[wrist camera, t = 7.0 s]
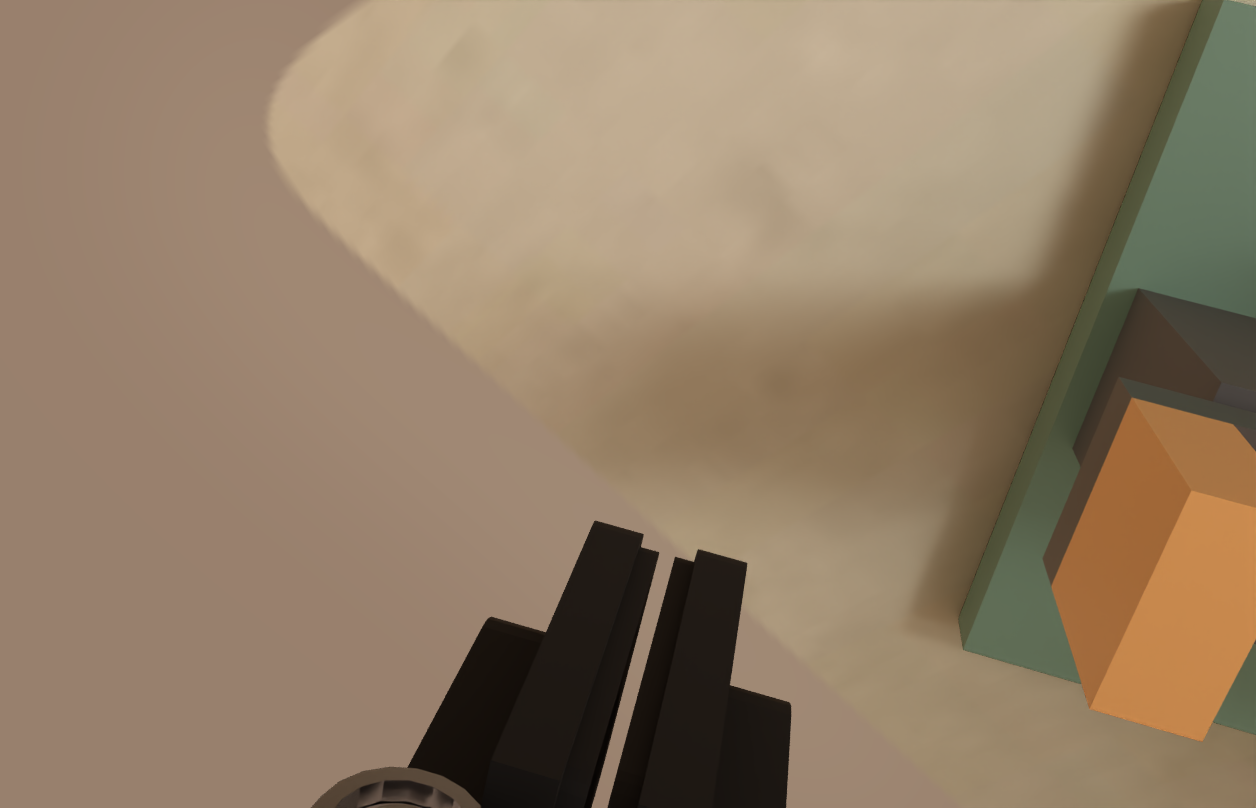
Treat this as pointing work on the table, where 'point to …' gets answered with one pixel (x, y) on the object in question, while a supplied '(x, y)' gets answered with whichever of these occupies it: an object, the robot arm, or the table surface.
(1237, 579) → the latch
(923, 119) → the table surface
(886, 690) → the table surface
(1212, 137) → the board
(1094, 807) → the table surface
